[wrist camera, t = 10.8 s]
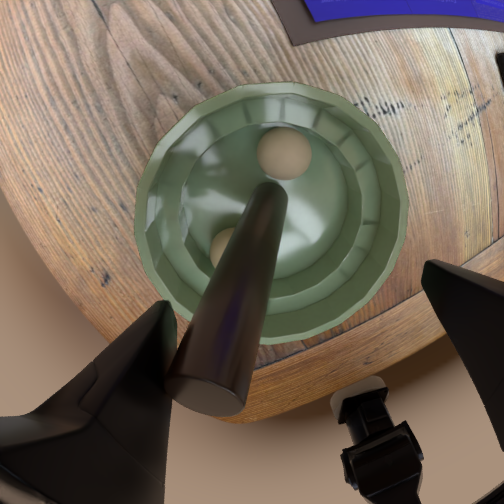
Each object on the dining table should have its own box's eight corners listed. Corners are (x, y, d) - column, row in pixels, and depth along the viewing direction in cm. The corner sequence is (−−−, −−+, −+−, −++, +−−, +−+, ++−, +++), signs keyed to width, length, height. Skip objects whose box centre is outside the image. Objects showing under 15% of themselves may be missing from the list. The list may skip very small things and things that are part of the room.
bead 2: (297, 194, 17) (308, 178, 14) (248, 177, 17) (249, 158, 14) (311, 150, 17) (323, 128, 14) (264, 134, 17) (268, 109, 14)
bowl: (363, 282, 22) (391, 320, 17) (181, 308, 21) (173, 355, 17) (365, 91, 16) (408, 87, 11) (139, 112, 15) (108, 110, 11)
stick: (285, 218, 18) (241, 424, 7) (250, 211, 18) (167, 404, 7) (291, 185, 17) (248, 390, 6) (254, 178, 17) (156, 366, 6)
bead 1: (253, 257, 20) (251, 292, 18) (210, 247, 19) (202, 281, 17) (266, 224, 18) (265, 259, 16) (218, 212, 17) (209, 246, 15)
